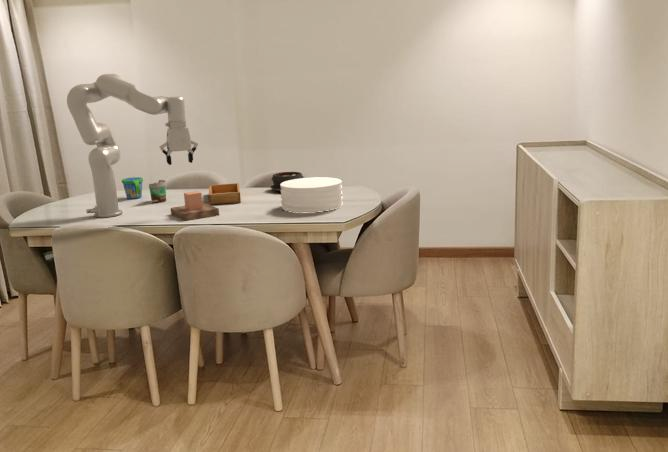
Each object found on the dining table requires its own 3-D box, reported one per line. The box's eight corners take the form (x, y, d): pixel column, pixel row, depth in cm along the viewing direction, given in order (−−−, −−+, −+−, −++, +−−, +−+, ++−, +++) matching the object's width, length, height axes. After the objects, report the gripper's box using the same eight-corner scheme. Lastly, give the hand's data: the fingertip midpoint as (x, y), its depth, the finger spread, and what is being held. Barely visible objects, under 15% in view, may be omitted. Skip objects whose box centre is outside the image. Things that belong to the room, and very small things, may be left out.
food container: (162, 203, 343) (159, 183, 340) (150, 204, 344) (148, 184, 342) (172, 198, 354) (170, 179, 352) (161, 199, 356) (159, 179, 353)
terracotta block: (190, 210, 308) (188, 194, 307) (185, 208, 313) (183, 193, 312) (202, 208, 311) (201, 192, 310) (197, 206, 316) (196, 191, 315)
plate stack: (270, 212, 311) (268, 187, 309) (299, 200, 336) (298, 176, 333) (326, 215, 299) (325, 188, 297) (352, 202, 324) (351, 178, 321)
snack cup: (148, 198, 358) (145, 179, 356) (127, 201, 354) (125, 181, 351) (141, 194, 372) (138, 175, 369) (121, 197, 367) (118, 178, 365)
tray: (210, 195, 362) (209, 184, 361) (239, 192, 364) (238, 182, 363) (209, 206, 333) (208, 194, 332) (241, 203, 335) (240, 192, 334)
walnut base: (184, 220, 302) (184, 214, 301) (171, 214, 317) (170, 207, 316) (219, 215, 310) (218, 208, 309) (204, 209, 325) (203, 202, 324)
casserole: (302, 193, 352) (301, 177, 350) (266, 194, 353) (265, 178, 351) (308, 184, 376) (307, 169, 374) (274, 186, 378) (273, 170, 376)
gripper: (160, 127, 300) (163, 166, 304) (198, 124, 308) (201, 162, 312) (155, 125, 306) (158, 164, 310) (193, 123, 315) (195, 160, 319)
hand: (180, 163), depth 311 cm, fingers open, 9 cm apart
